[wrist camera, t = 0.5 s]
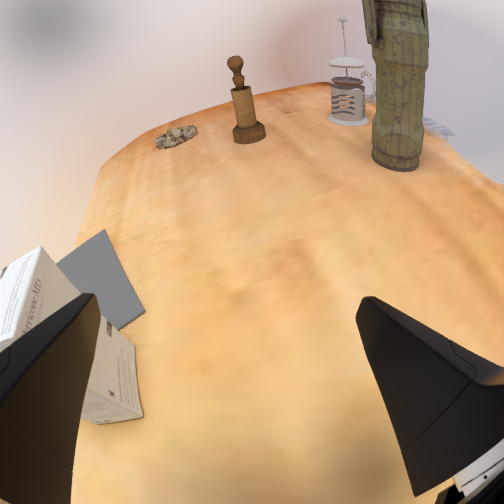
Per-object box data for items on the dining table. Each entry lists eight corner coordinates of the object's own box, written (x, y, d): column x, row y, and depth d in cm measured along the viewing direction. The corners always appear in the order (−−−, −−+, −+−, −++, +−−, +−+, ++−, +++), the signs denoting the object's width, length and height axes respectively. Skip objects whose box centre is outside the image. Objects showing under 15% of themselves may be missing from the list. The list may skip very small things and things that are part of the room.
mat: (145, 311, 28) (144, 310, 28) (57, 373, 23) (56, 372, 23) (105, 230, 40) (104, 228, 40) (42, 276, 36) (41, 275, 35)
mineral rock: (154, 146, 56) (151, 129, 60) (159, 160, 60) (155, 142, 64) (200, 131, 58) (192, 115, 61) (203, 145, 61) (195, 129, 65)
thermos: (433, 163, 39) (437, -27, 14) (390, 179, 37) (384, -50, 12) (399, 143, 45) (394, -28, 20) (355, 155, 43) (339, -43, 18)
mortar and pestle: (251, 146, 51) (234, 58, 38) (228, 141, 54) (209, 61, 42) (271, 133, 54) (258, 52, 41) (248, 129, 57) (233, 54, 45)
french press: (339, 109, 60) (331, 17, 43) (382, 119, 54) (379, 19, 36) (319, 120, 56) (309, 16, 38) (366, 131, 50) (362, 16, 32)
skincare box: (145, 418, 20) (15, 344, 9) (95, 426, 19) (-31, 359, 9) (135, 341, 26) (42, 239, 15) (90, 354, 25) (-4, 266, 14)
